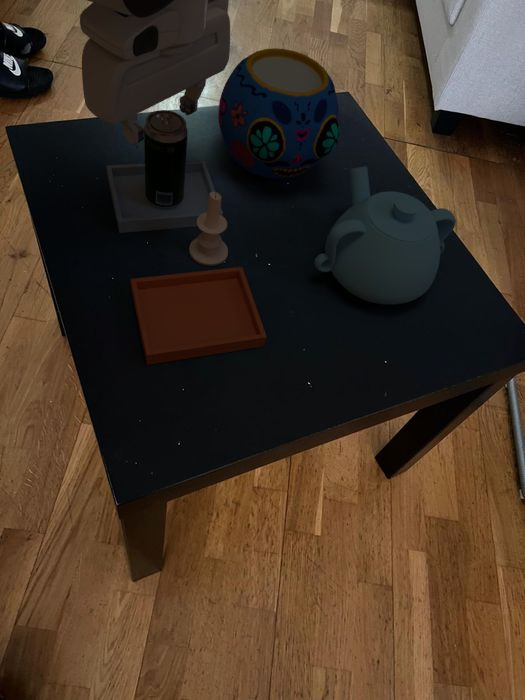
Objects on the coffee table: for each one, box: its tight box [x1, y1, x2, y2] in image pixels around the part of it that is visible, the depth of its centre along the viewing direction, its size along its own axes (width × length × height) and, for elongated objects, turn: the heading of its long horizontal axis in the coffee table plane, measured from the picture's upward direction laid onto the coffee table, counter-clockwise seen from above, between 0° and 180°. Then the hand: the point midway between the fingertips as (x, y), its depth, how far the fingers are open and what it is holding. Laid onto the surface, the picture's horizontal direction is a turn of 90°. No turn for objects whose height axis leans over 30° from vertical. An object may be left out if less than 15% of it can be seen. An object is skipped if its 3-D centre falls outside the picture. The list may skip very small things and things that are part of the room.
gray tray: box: [105, 160, 224, 234], centre depth 76 cm, size 14×11×2 cm
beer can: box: [143, 109, 189, 210], centre depth 71 cm, size 5×5×12 cm
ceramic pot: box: [217, 47, 341, 180], centre depth 79 cm, size 18×18×15 cm
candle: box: [188, 191, 229, 267], centre depth 68 cm, size 5×5×10 cm
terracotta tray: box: [130, 266, 267, 366], centre depth 65 cm, size 14×11×2 cm
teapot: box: [314, 165, 457, 305], centre depth 72 cm, size 20×20×13 cm
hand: (162, 125), depth 67 cm, fingers open, 8 cm apart
